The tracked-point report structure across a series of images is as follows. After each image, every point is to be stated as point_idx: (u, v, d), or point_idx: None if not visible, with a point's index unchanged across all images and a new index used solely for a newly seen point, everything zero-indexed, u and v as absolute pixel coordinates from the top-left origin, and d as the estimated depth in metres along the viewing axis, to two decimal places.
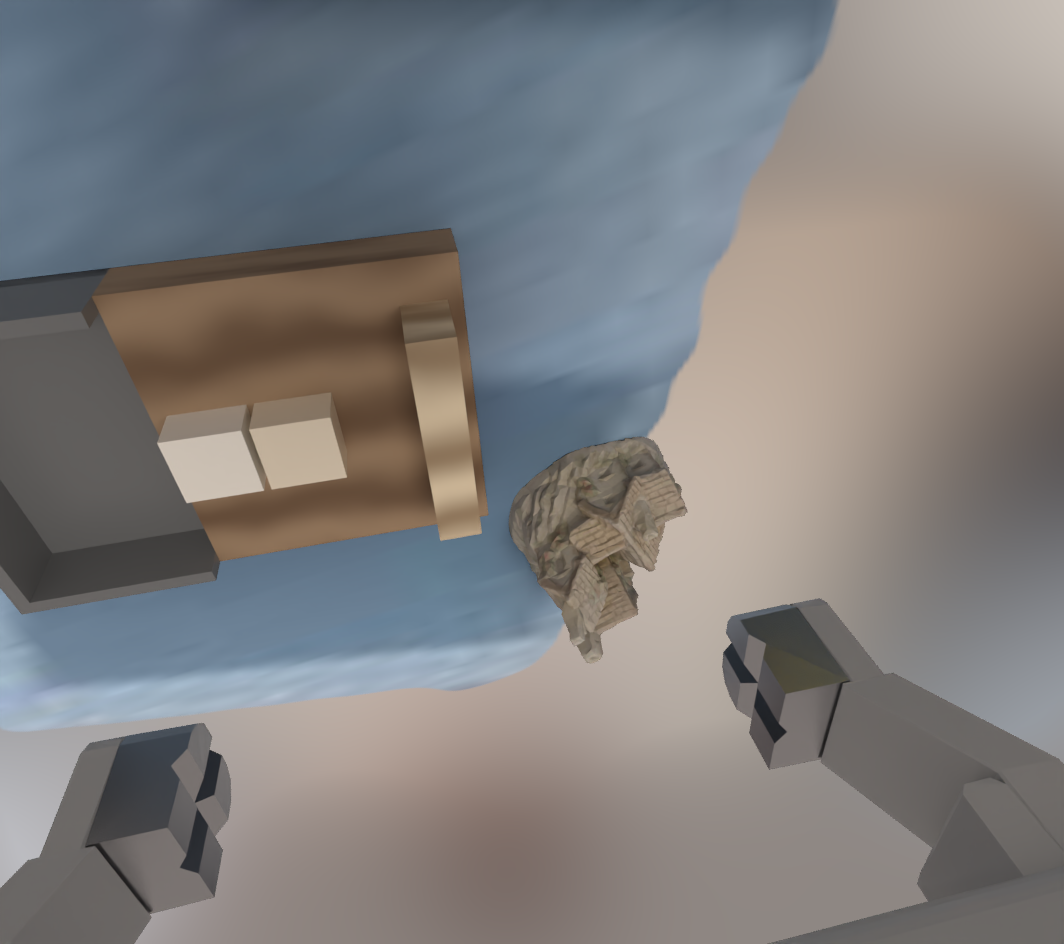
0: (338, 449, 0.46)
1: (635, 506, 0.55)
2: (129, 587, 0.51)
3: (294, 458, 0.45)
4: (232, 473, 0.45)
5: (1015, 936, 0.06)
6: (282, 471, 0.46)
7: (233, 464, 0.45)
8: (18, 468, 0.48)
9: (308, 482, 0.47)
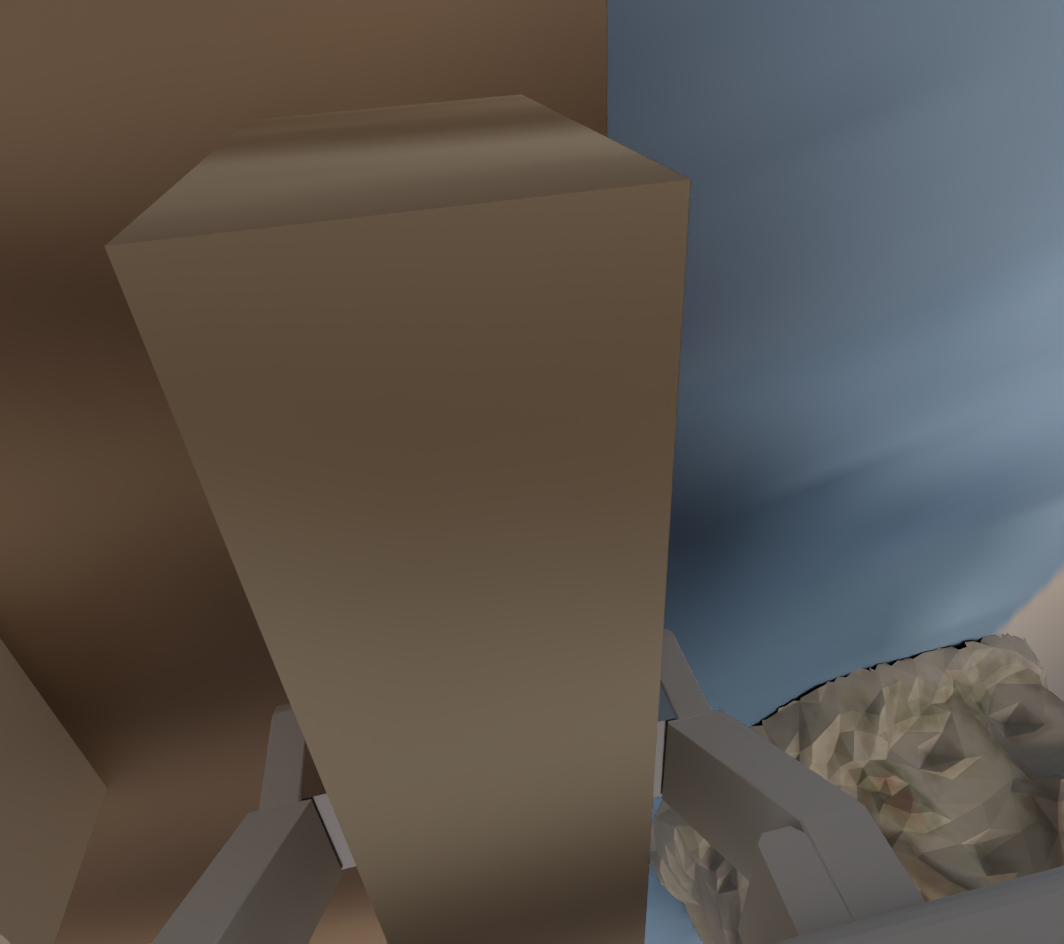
0: None
1: None
2: None
3: None
4: None
5: (1015, 936, 0.06)
6: None
7: None
8: None
9: None
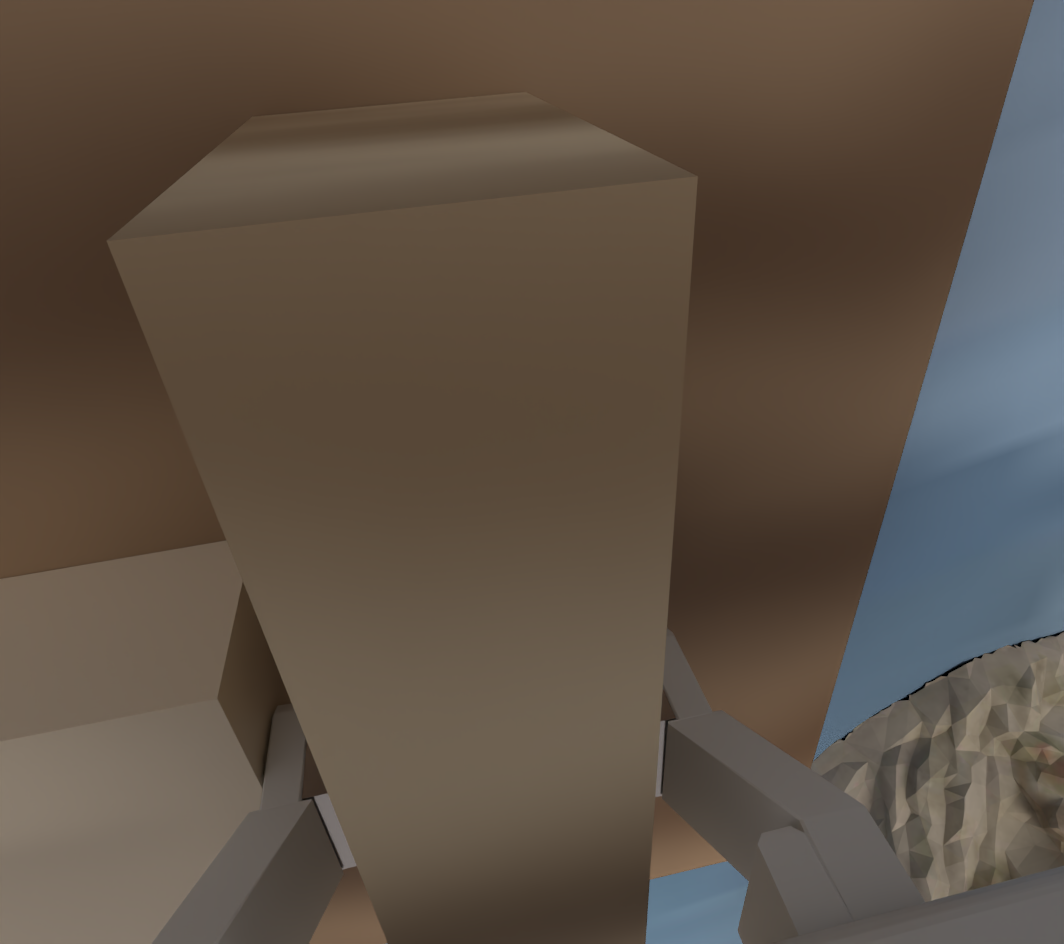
0: None
1: None
2: None
3: (52, 878, 0.09)
4: None
5: (1015, 936, 0.06)
6: (4, 930, 0.09)
7: None
8: None
9: None
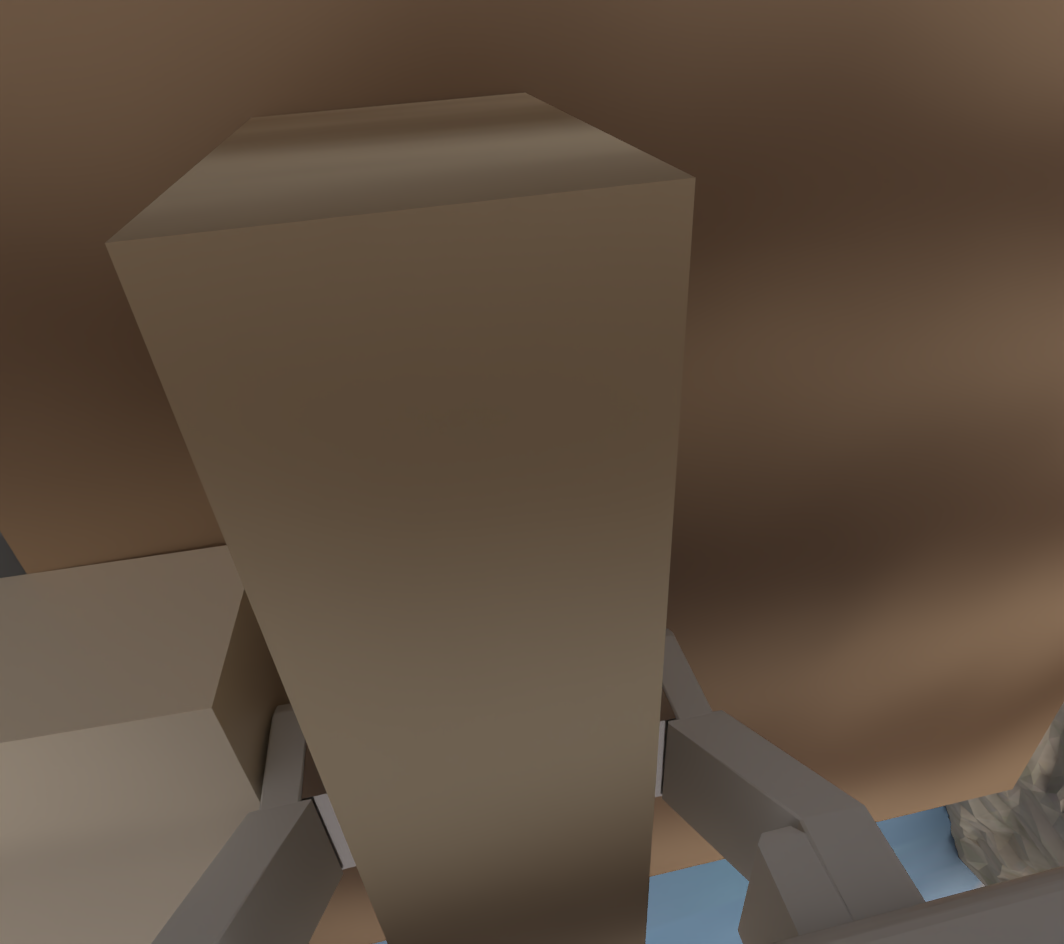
0: None
1: None
2: None
3: (49, 878, 0.09)
4: None
5: (1015, 936, 0.06)
6: (3, 926, 0.09)
7: None
8: None
9: None
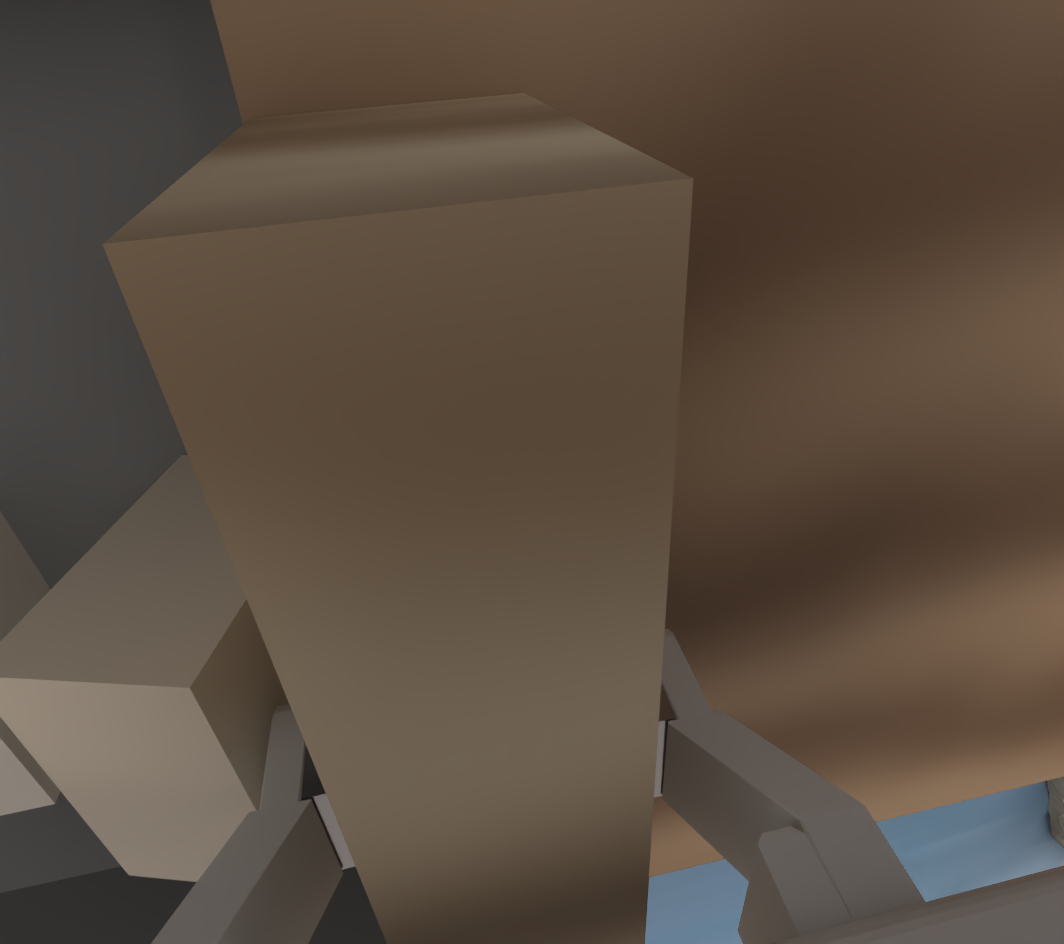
0: None
1: None
2: None
3: None
4: None
5: (1015, 936, 0.06)
6: None
7: None
8: None
9: None
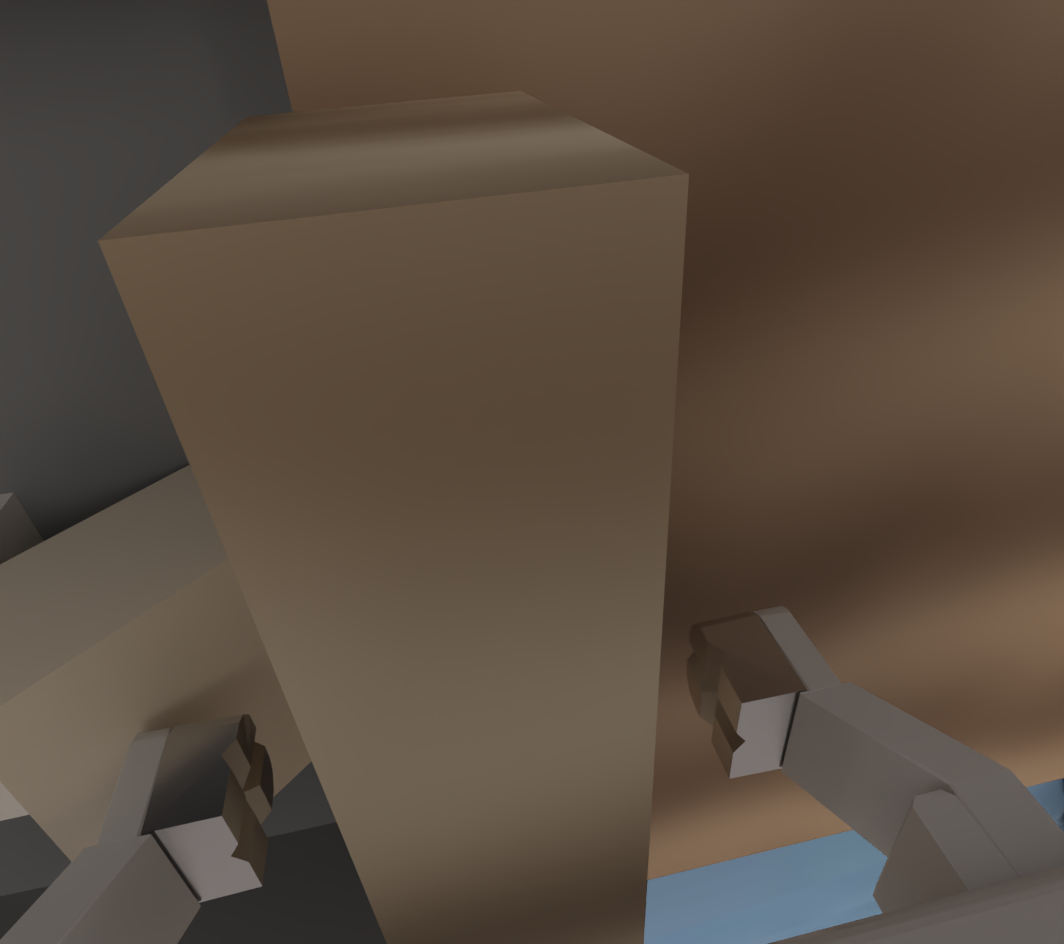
0: None
1: None
2: None
3: None
4: None
5: (1015, 936, 0.06)
6: None
7: None
8: None
9: None
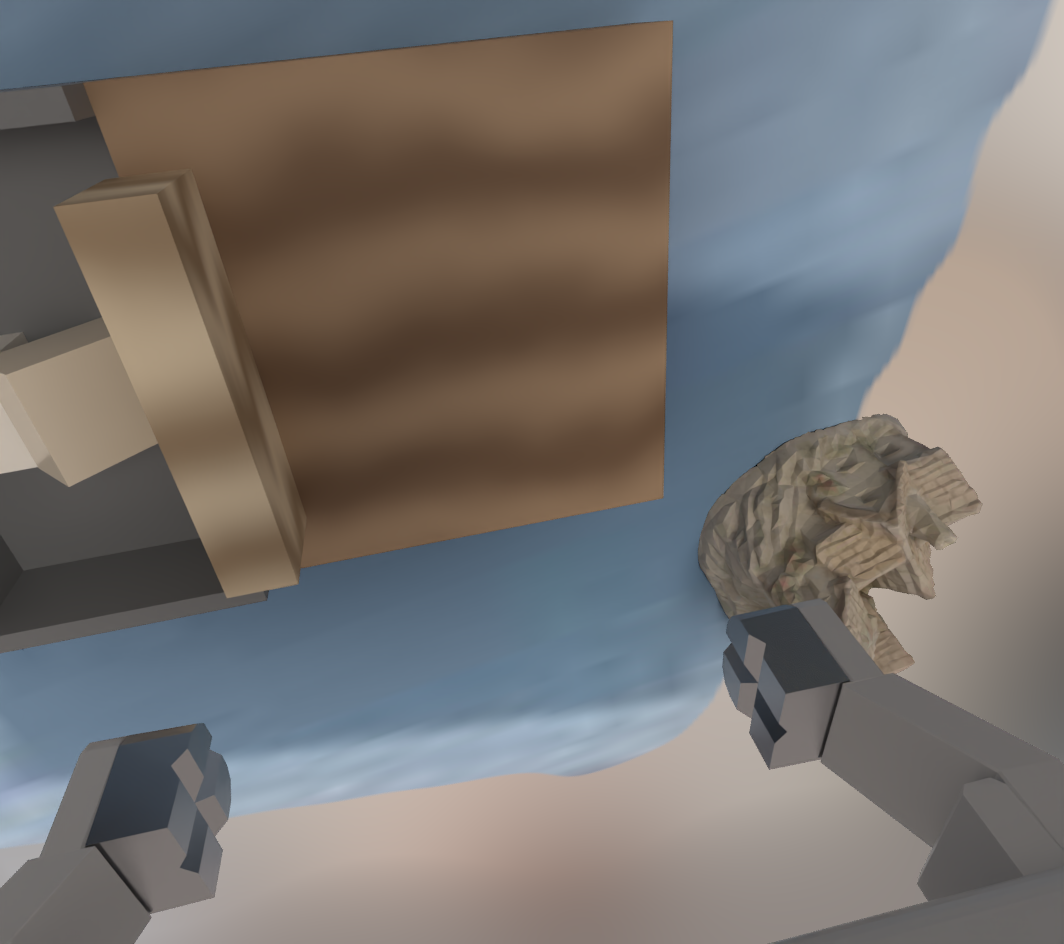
0: None
1: (908, 502, 0.39)
2: (135, 612, 0.33)
3: (95, 415, 0.28)
4: None
5: (1015, 936, 0.06)
6: (80, 446, 0.28)
7: None
8: None
9: (126, 456, 0.30)
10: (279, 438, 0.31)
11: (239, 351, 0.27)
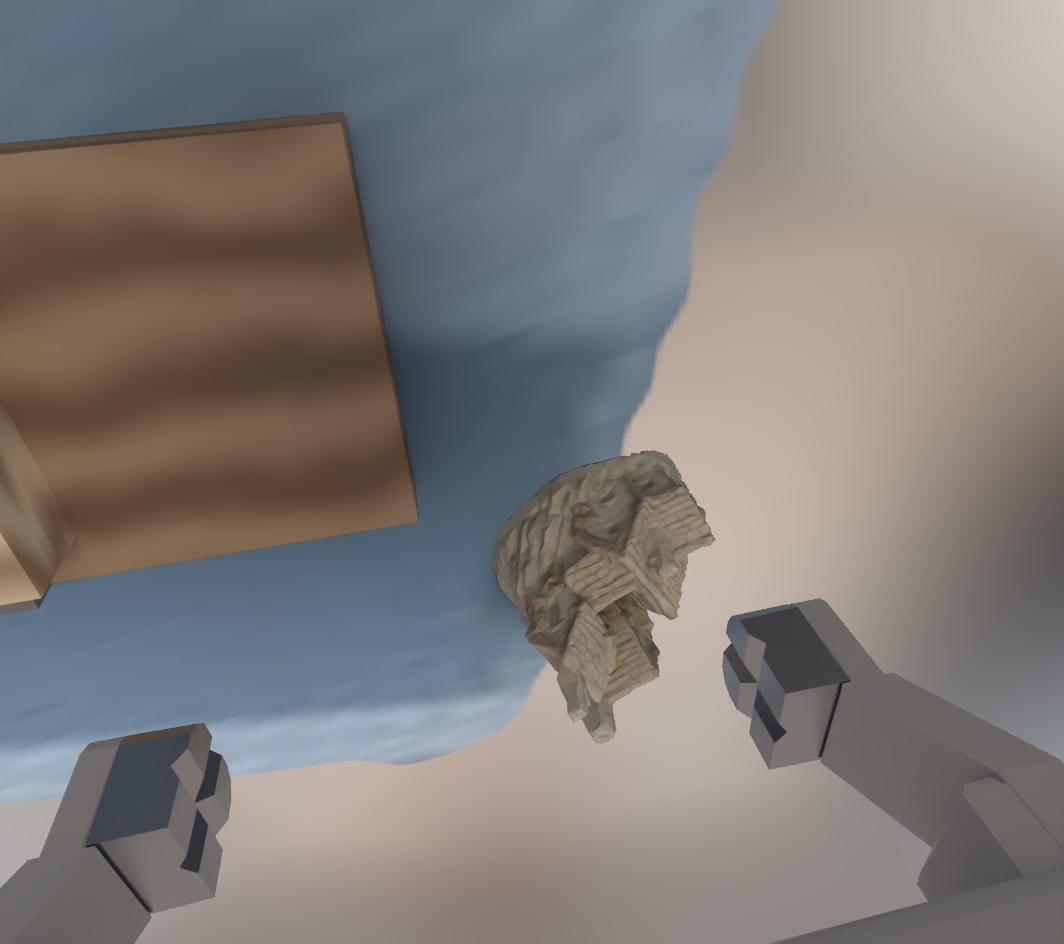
0: None
1: (647, 535, 0.43)
2: None
3: None
4: None
5: (1015, 936, 0.06)
6: None
7: None
8: None
9: None
10: (36, 468, 0.36)
11: None
